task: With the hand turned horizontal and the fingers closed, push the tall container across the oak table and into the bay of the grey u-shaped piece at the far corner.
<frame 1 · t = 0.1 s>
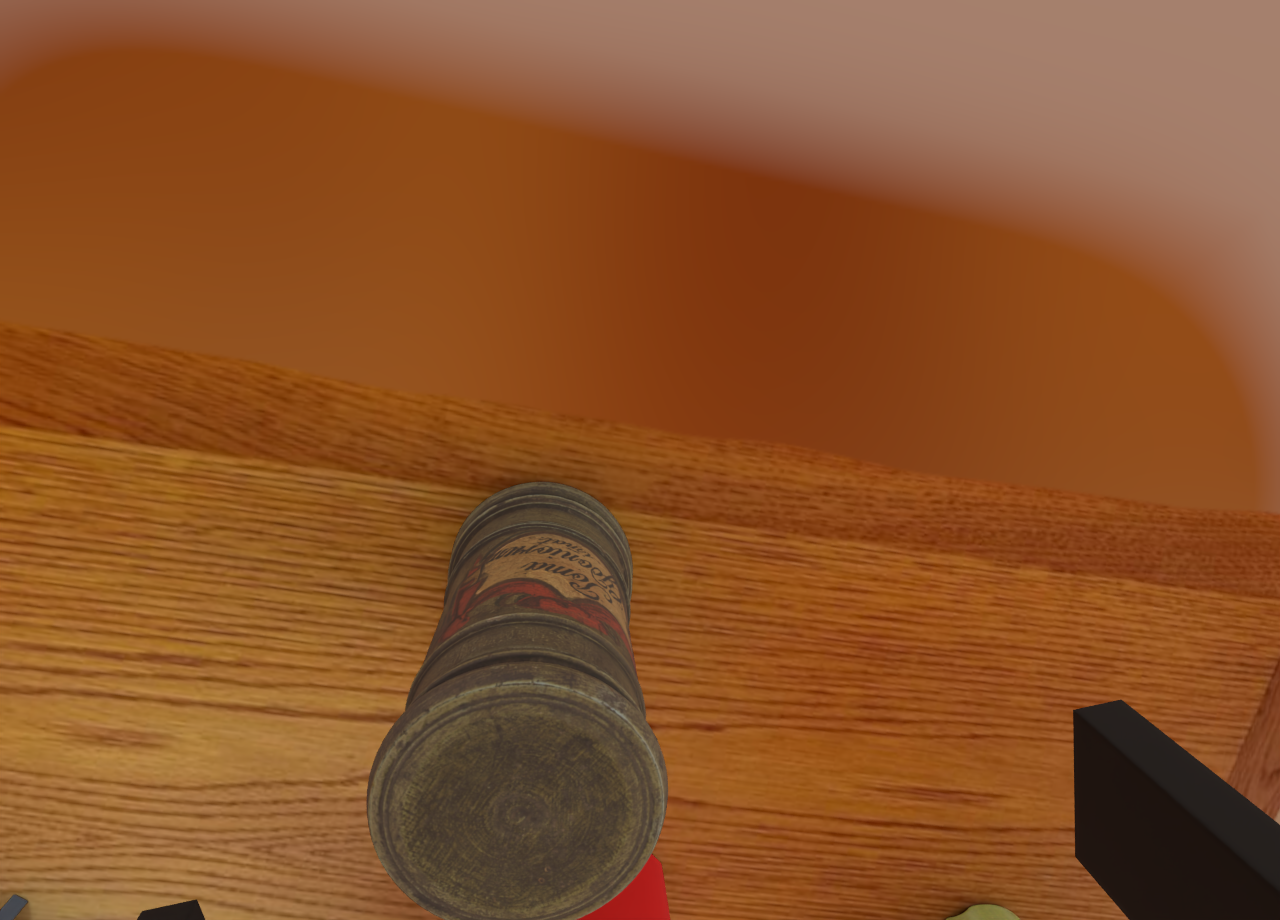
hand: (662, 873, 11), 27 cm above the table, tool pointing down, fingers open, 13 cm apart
container: (543, 562, 38), on the table
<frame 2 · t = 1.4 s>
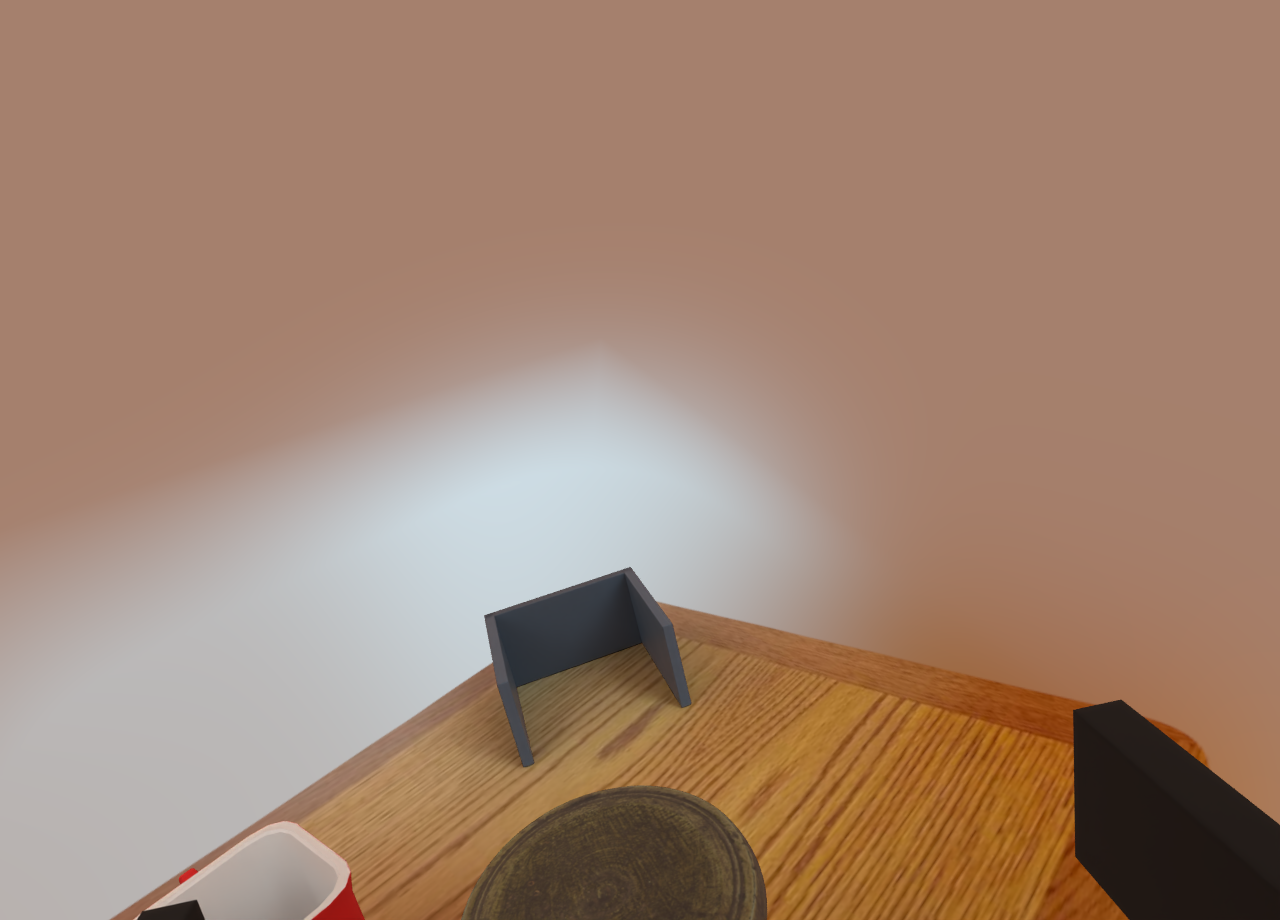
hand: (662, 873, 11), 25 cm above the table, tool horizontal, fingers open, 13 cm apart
grey u-shaped piece: (592, 694, 61), on the table
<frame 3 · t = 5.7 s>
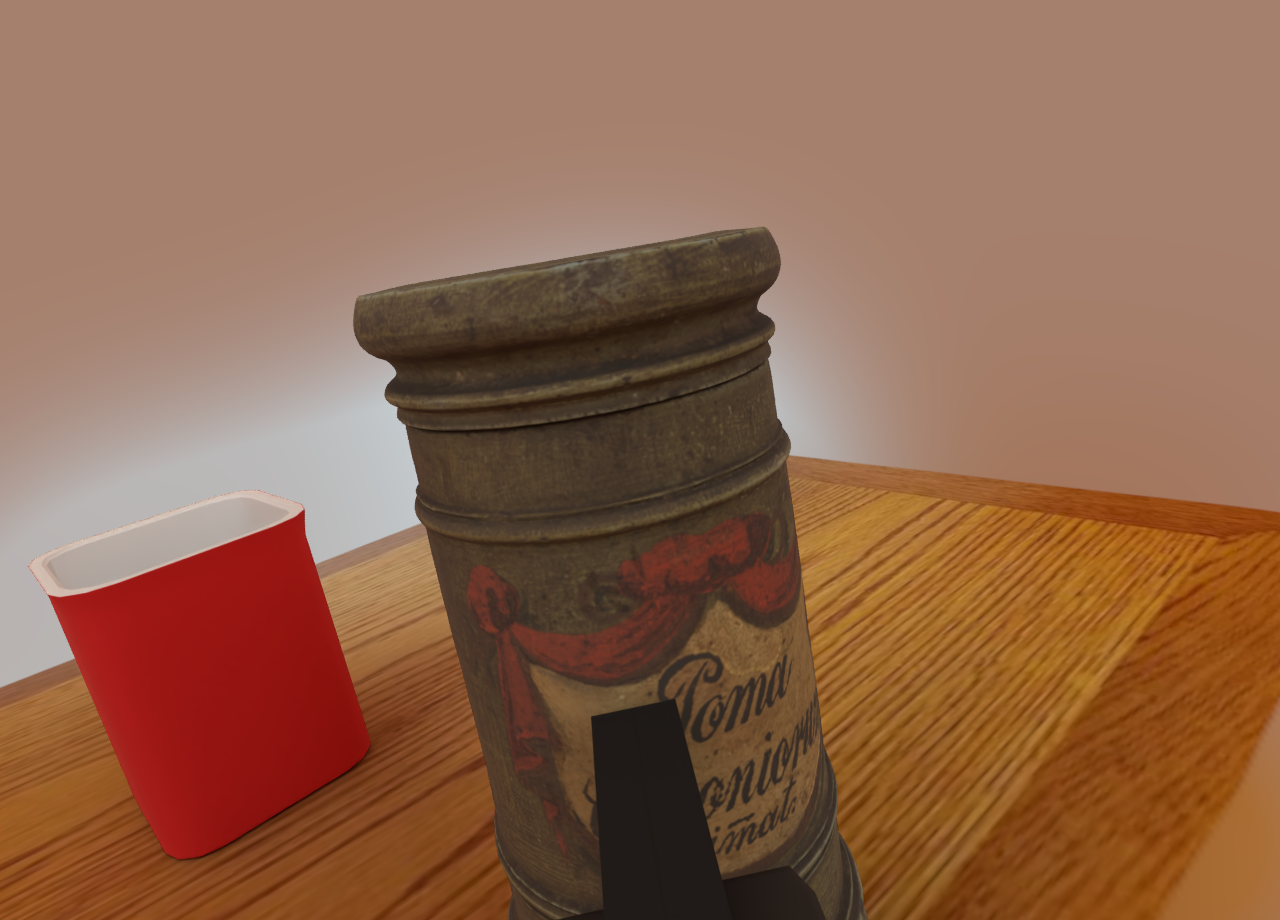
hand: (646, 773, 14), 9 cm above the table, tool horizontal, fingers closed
mug: (243, 757, 33), on the table
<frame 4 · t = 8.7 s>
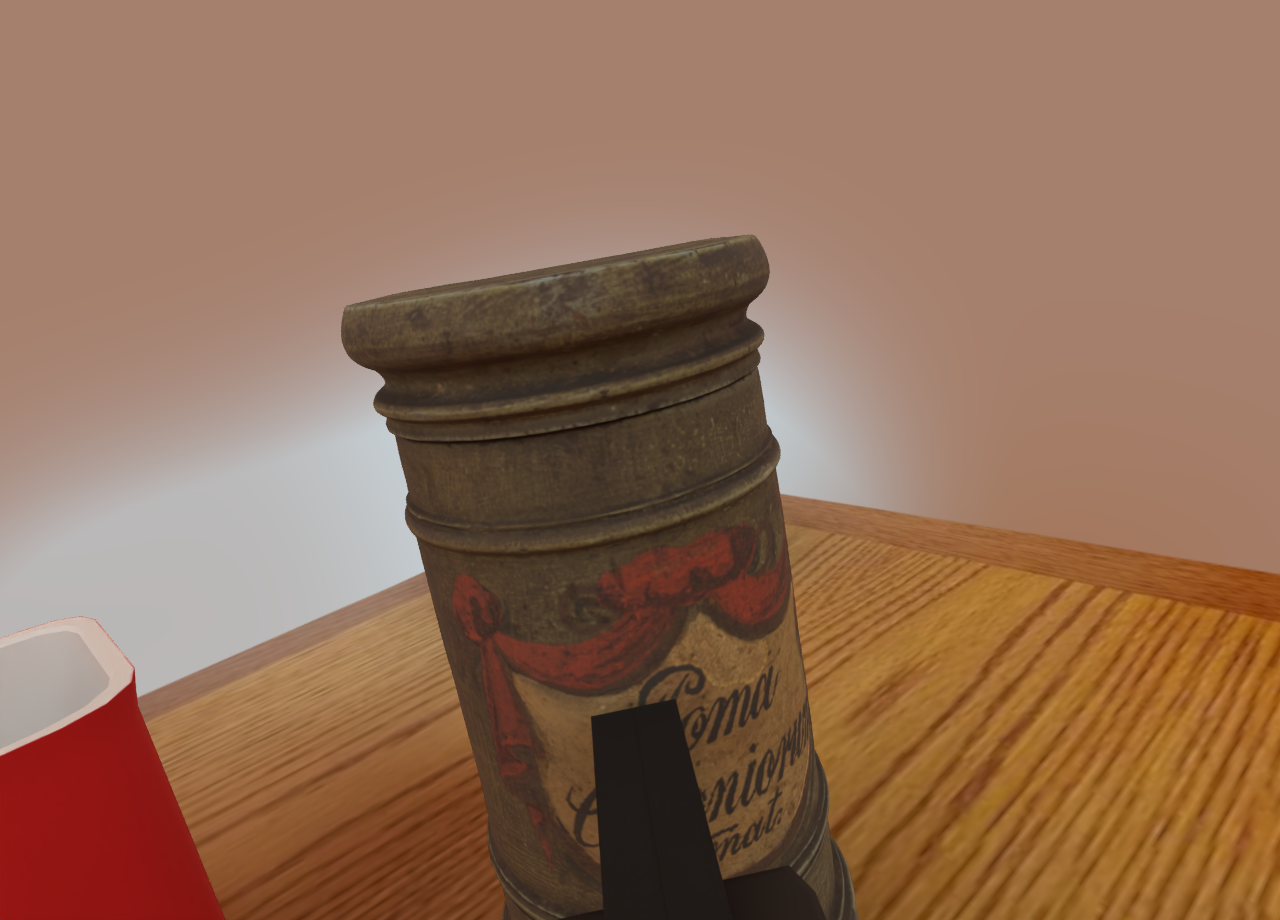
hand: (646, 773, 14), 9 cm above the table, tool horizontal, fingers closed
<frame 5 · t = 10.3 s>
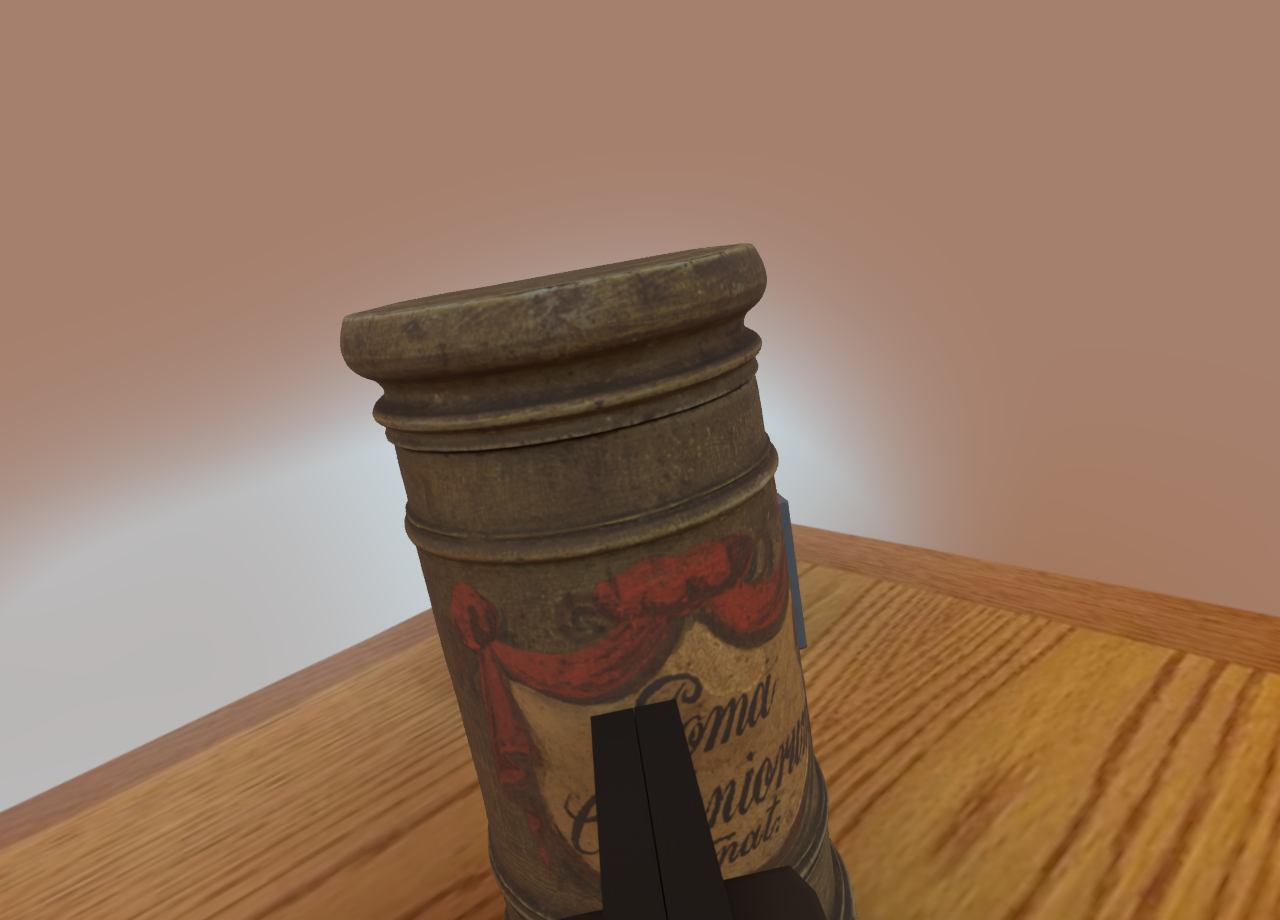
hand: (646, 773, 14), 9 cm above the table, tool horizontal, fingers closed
grey u-shaped piece: (640, 624, 38), on the table
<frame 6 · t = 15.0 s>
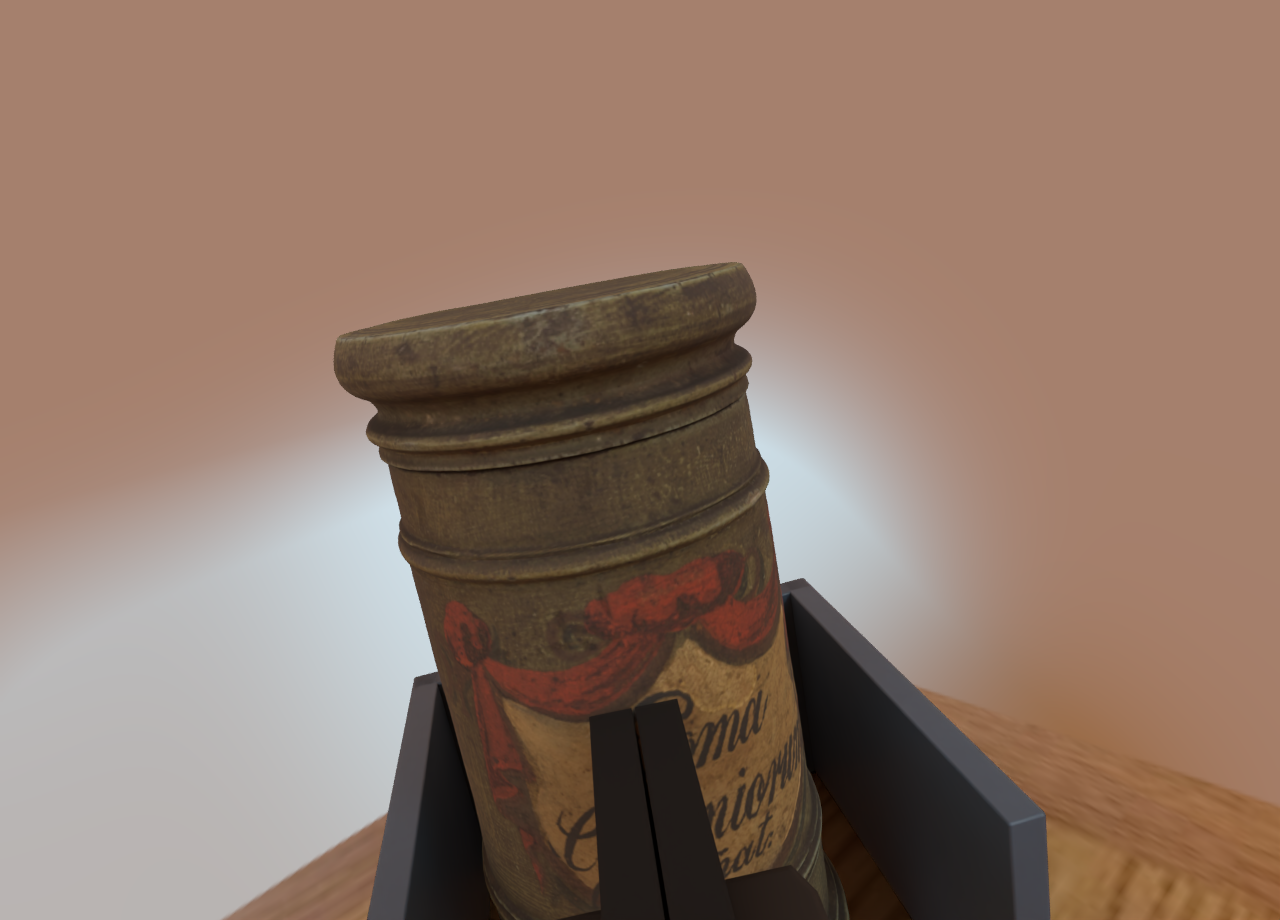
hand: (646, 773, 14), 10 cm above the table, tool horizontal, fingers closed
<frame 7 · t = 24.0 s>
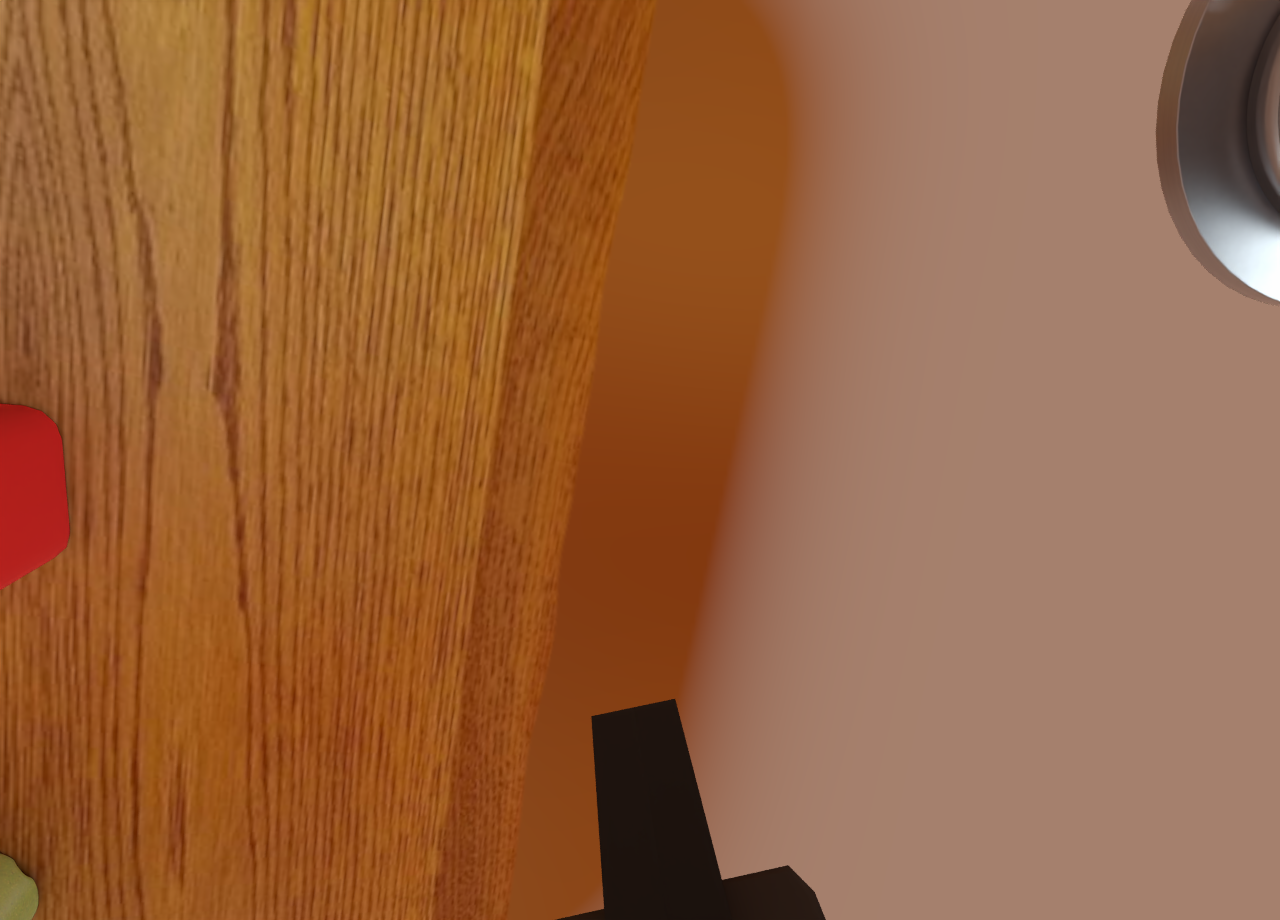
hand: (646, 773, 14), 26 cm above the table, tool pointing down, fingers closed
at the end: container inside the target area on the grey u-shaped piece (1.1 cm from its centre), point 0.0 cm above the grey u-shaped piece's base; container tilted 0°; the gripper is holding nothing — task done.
